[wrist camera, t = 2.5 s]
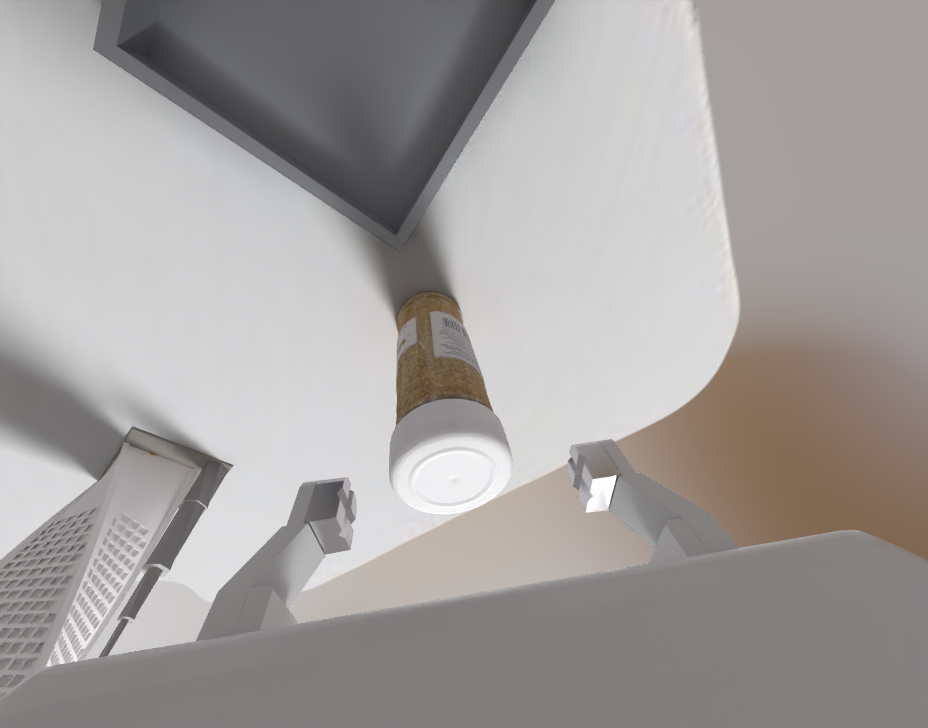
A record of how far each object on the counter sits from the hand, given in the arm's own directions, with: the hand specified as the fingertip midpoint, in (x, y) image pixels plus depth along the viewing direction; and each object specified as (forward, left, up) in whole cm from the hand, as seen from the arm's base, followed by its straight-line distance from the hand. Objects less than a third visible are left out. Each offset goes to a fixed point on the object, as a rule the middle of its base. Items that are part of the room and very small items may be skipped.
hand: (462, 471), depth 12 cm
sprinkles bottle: (0, 0, -13) cm, 13 cm away
